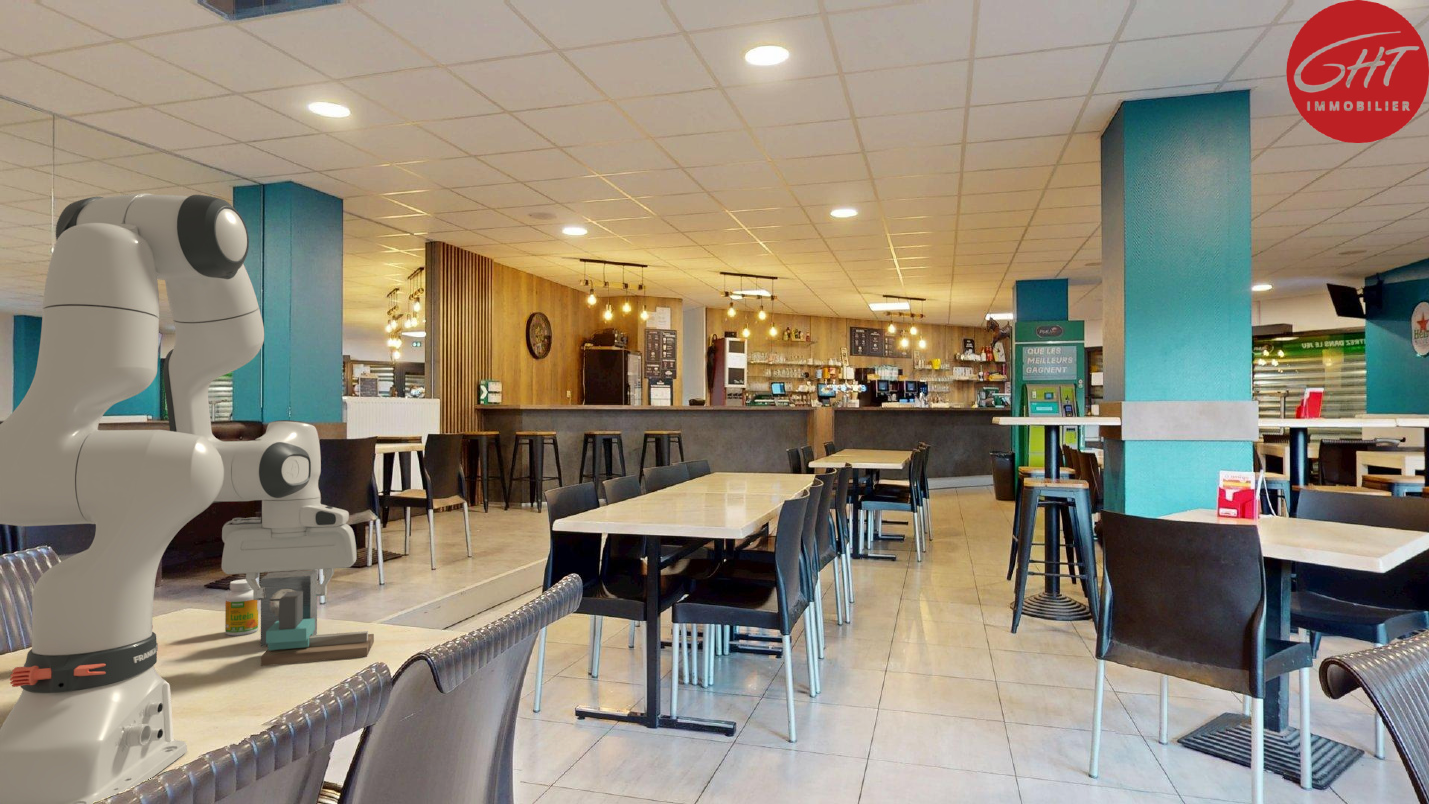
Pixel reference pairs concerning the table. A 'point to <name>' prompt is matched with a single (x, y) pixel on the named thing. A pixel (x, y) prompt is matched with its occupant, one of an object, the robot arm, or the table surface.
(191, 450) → the robot arm
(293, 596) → the carriage
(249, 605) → the supplement bottle
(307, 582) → the cabinet
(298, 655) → the rail board
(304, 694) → the table surface
